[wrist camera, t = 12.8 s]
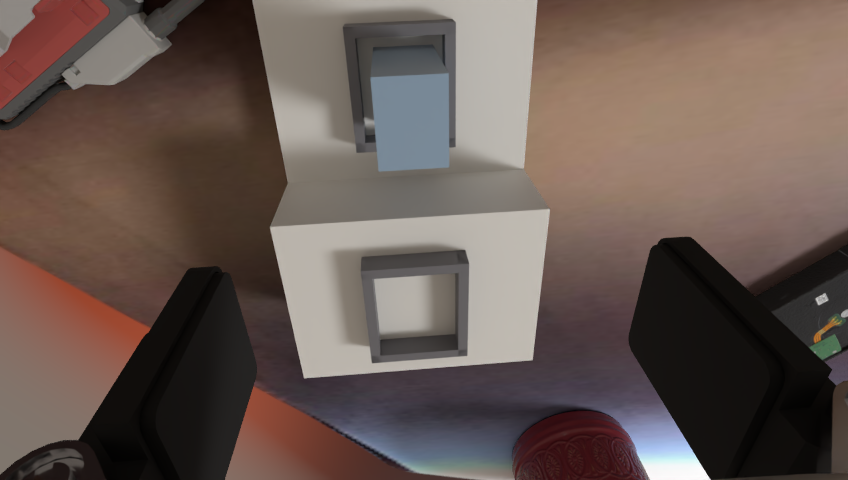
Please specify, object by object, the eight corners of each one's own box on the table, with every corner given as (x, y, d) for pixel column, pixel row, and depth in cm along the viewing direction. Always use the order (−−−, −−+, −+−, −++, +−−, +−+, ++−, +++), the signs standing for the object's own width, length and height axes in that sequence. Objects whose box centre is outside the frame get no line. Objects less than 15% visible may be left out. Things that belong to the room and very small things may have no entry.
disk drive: (864, 225, 41) (704, 320, 45) (895, 241, 38) (723, 340, 42) (891, 296, 45) (744, 376, 49) (920, 315, 43) (763, 398, 47)
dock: (256, -23, 28) (204, -13, 19) (530, -33, 28) (590, -28, 20) (317, 305, 40) (301, 395, 32) (507, 291, 41) (538, 376, 33)
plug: (373, 47, 28) (370, 77, 21) (432, 44, 28) (448, 73, 21) (379, 122, 30) (378, 171, 24) (434, 119, 31) (449, 167, 24)
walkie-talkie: (46, 149, 32) (274, -38, 28) (1, 175, 28) (257, -37, 24) (-90, 31, 28) (152, -211, 24) (-164, 43, 24) (108, -242, 20)
